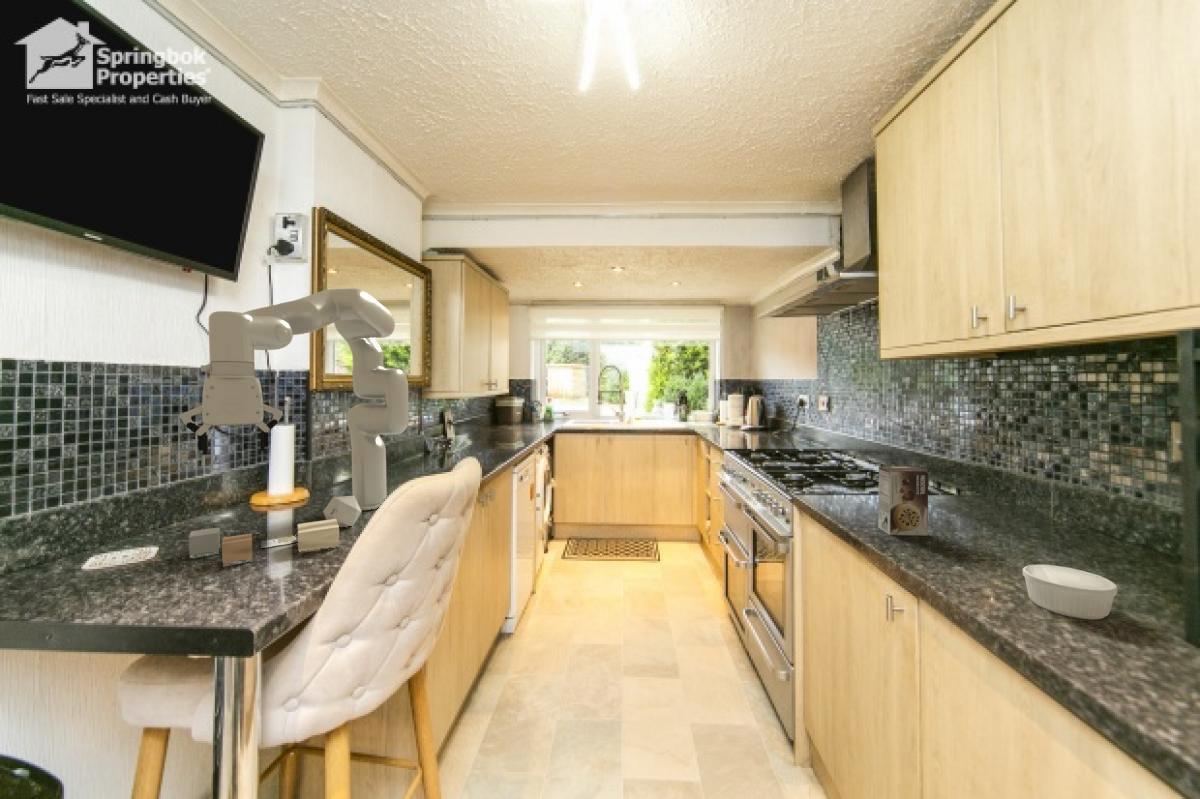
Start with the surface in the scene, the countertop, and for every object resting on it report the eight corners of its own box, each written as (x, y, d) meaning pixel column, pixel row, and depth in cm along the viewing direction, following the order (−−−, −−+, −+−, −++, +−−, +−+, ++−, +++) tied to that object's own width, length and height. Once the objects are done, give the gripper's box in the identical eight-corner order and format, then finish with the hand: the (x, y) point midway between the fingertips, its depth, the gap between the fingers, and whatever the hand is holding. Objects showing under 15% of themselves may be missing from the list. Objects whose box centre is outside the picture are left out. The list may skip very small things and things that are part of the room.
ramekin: (1004, 593, 86) (1005, 564, 85) (1063, 591, 86) (1064, 562, 86) (1070, 625, 74) (1071, 591, 74) (1136, 622, 75) (1138, 589, 75)
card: (260, 542, 114) (260, 540, 114) (299, 536, 119) (299, 534, 119) (260, 549, 110) (260, 547, 110) (301, 542, 114) (301, 540, 114)
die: (321, 528, 128) (313, 505, 122) (346, 505, 134) (340, 482, 129) (344, 541, 126) (338, 518, 120) (370, 518, 133) (364, 495, 127)
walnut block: (223, 560, 103) (223, 537, 103) (252, 555, 106) (251, 533, 106) (222, 567, 99) (221, 543, 99) (252, 562, 102) (251, 539, 102)
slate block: (191, 553, 108) (191, 531, 107) (220, 548, 110) (219, 527, 110) (189, 560, 103) (188, 537, 103) (219, 554, 106) (218, 532, 106)
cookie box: (914, 528, 124) (915, 466, 123) (928, 536, 117) (930, 470, 117) (876, 527, 124) (877, 465, 124) (889, 535, 118) (890, 470, 117)
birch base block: (298, 545, 113) (297, 524, 113) (336, 539, 118) (336, 518, 117) (298, 555, 106) (298, 532, 106) (339, 548, 111) (339, 527, 111)
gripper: (176, 370, 93) (178, 458, 93) (282, 371, 103) (284, 450, 104) (180, 371, 99) (182, 453, 100) (281, 372, 109) (282, 447, 110)
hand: (234, 452), depth 102 cm, fingers open, 9 cm apart
